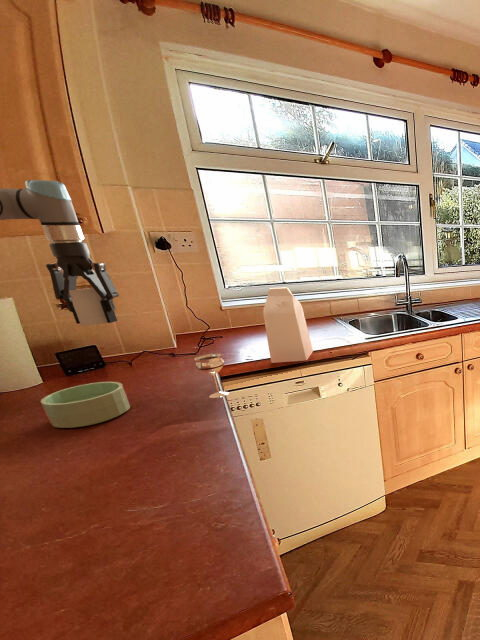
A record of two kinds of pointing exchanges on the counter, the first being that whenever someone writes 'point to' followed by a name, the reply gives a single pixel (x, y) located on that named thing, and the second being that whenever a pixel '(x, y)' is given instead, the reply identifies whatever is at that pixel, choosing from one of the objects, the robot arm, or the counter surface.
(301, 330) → the milk
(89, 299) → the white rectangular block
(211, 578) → the counter surface
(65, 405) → the bowl
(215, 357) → the wineglass
